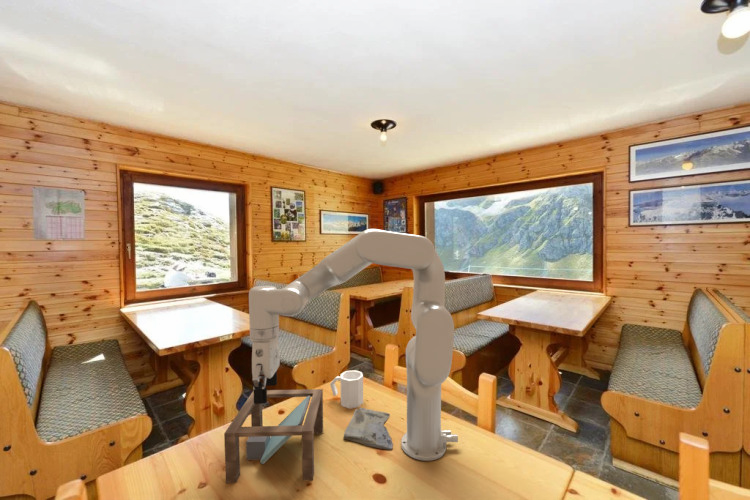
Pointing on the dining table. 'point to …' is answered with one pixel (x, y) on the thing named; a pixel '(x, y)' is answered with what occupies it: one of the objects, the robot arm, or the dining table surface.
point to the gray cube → (256, 447)
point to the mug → (350, 388)
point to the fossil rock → (369, 429)
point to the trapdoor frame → (274, 430)
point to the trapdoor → (291, 420)
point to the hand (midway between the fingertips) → (266, 393)
